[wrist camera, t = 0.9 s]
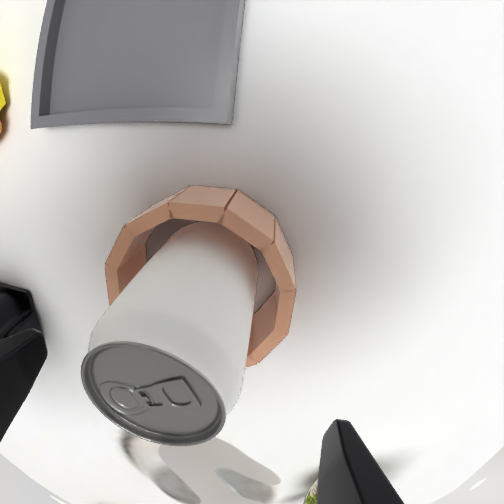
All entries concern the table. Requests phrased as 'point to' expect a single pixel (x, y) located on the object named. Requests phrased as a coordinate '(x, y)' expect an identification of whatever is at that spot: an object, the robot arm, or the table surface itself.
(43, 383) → the table surface
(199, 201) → the ring
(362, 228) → the table surface
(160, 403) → the can
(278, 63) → the table surface
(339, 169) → the table surface
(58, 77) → the tray
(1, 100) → the yellow faceted block
